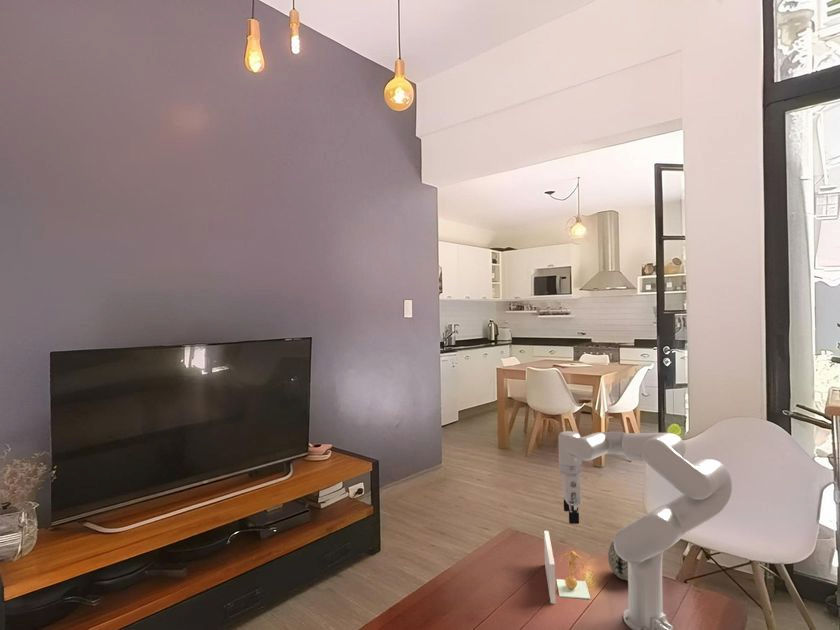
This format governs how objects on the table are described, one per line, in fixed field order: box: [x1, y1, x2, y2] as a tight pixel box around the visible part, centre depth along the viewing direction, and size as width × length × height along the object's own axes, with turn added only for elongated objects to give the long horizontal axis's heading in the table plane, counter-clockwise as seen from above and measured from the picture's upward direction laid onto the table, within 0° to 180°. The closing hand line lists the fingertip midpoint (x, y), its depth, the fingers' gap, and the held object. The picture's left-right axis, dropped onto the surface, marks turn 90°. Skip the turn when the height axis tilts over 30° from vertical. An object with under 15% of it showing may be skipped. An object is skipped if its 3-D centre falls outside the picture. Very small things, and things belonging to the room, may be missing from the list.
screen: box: [543, 530, 556, 605], centre depth 168 cm, size 24×2×13 cm, turn 170°
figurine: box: [559, 550, 585, 589], centre depth 165 cm, size 8×6×12 cm
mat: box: [555, 578, 591, 600], centre depth 164 cm, size 10×10×1 cm
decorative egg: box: [607, 540, 628, 582], centre depth 170 cm, size 12×12×15 cm
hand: (571, 517), depth 165 cm, fingers open, 9 cm apart
